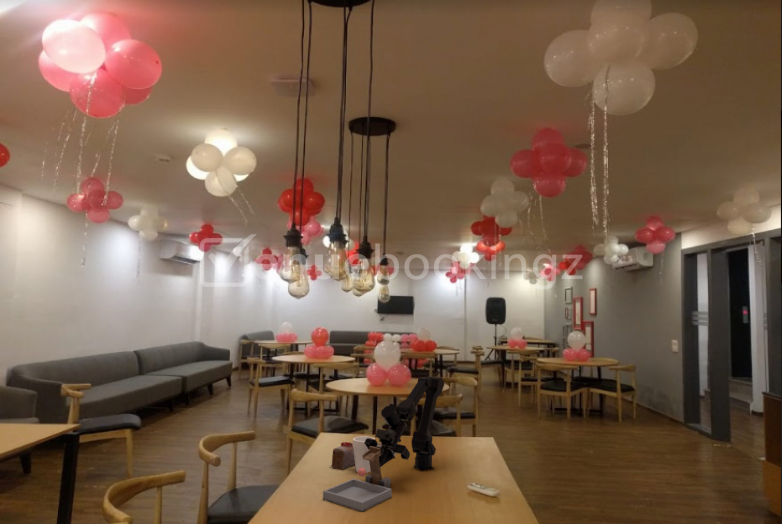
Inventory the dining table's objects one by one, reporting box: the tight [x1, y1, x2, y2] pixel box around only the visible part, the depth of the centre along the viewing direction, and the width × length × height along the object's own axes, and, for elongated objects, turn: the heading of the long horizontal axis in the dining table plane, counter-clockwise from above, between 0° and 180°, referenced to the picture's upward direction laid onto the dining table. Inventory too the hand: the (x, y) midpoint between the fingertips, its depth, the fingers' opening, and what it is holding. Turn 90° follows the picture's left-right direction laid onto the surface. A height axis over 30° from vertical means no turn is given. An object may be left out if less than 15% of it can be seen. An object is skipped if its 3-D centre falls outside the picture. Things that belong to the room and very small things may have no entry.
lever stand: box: [365, 473, 392, 489], centre depth 201 cm, size 4×9×4 cm, turn 55°
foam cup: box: [352, 435, 376, 474], centre depth 223 cm, size 10×9×13 cm
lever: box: [362, 446, 383, 485], centre depth 199 cm, size 5×5×15 cm
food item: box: [331, 441, 355, 471], centre depth 230 cm, size 14×8×10 cm, turn 153°
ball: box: [357, 468, 367, 477], centre depth 194 cm, size 3×3×3 cm
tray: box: [322, 478, 393, 513], centre depth 191 cm, size 17×18×3 cm
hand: (377, 467), depth 201 cm, fingers closed, pressing on lever
